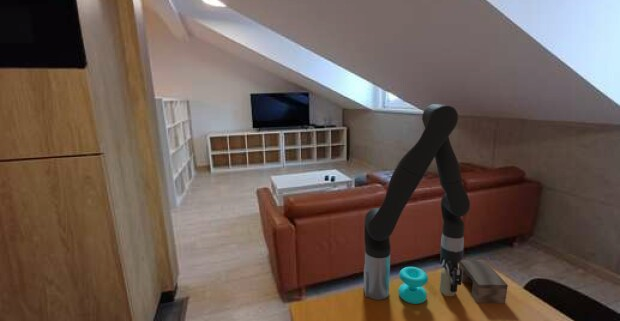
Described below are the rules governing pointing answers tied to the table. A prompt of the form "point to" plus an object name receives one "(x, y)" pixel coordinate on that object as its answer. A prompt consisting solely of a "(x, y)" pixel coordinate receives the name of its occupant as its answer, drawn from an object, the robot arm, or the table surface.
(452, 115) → the robot arm
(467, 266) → the bridge
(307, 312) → the table surface
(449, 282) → the candle
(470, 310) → the table surface
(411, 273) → the turquoise spool
